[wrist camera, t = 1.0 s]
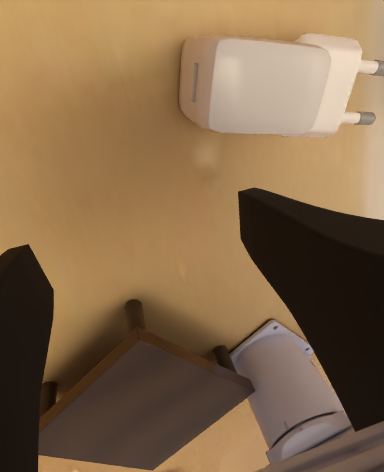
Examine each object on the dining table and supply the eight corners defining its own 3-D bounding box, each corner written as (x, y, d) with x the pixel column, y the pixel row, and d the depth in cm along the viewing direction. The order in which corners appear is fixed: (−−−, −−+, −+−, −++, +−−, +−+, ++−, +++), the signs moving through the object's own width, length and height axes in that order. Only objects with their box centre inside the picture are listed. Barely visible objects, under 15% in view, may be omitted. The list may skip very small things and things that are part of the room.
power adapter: (355, 44, 19) (445, 44, 14) (330, 126, 21) (399, 150, 16) (178, 22, 16) (215, 14, 11) (173, 121, 18) (202, 149, 13)
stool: (235, 346, 32) (255, 391, 28) (145, 420, 35) (152, 470, 31) (131, 290, 24) (139, 340, 20) (28, 391, 27) (17, 452, 23)
